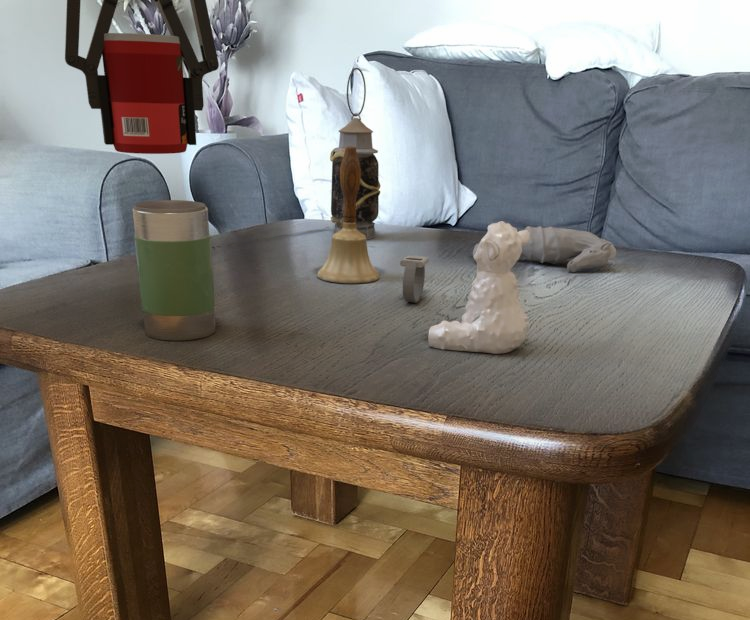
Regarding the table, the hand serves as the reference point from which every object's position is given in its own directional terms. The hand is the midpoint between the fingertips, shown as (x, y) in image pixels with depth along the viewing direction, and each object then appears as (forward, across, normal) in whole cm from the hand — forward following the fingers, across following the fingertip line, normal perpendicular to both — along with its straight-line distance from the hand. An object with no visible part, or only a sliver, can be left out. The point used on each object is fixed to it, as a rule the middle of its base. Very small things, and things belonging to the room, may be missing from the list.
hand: (150, 143), depth 89 cm
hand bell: (+17, +25, +6) cm, 30 cm away
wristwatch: (+17, +28, -9) cm, 34 cm away
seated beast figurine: (+17, +28, -28) cm, 43 cm away
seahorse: (+17, +55, +7) cm, 58 cm away
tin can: (+17, 0, -15) cm, 23 cm away
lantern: (+17, +35, +35) cm, 53 cm away
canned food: (+1, 0, 0) cm, 1 cm away
